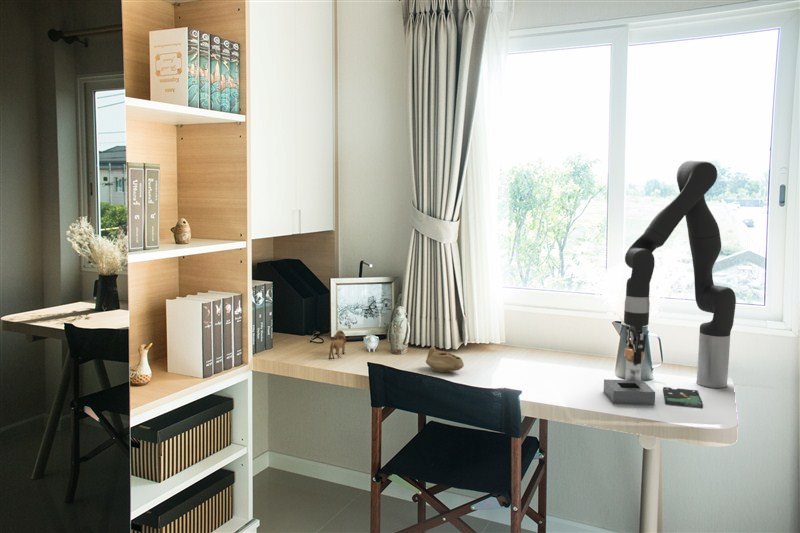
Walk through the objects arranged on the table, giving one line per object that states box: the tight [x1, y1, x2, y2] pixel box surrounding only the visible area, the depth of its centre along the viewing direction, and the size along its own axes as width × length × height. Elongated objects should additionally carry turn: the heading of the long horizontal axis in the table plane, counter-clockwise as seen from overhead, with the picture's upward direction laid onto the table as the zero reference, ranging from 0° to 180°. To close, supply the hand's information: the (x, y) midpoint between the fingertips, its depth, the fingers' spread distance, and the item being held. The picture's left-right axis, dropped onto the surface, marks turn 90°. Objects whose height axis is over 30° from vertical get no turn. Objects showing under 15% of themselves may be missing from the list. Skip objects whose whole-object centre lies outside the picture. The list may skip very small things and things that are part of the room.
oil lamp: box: [425, 346, 465, 373], centre depth 230 cm, size 11×15×8 cm
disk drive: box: [662, 386, 703, 409], centre depth 197 cm, size 10×3×15 cm
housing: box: [603, 379, 656, 406], centre depth 197 cm, size 12×12×5 cm
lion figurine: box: [328, 330, 347, 360], centre depth 250 cm, size 15×5×9 cm, turn 176°
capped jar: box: [623, 346, 645, 380], centre depth 209 cm, size 6×6×10 cm
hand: (634, 360), depth 209 cm, fingers closed on capped jar, 6 cm apart
